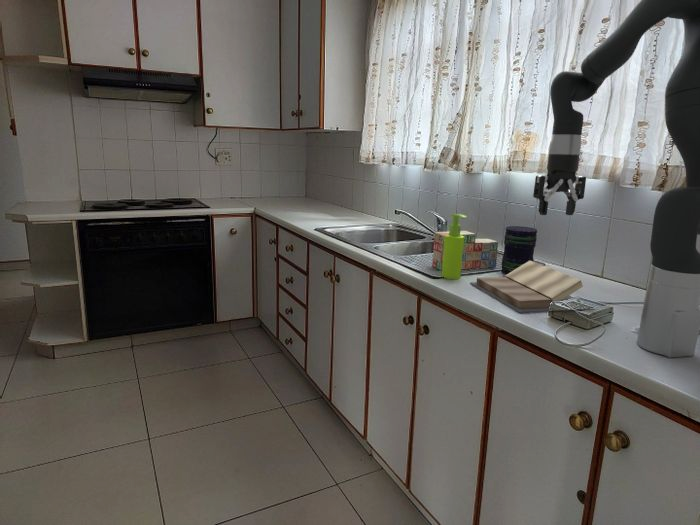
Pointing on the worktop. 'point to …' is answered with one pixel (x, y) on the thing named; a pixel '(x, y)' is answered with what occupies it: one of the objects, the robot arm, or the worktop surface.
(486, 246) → the stack of blocks
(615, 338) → the worktop surface
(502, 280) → the walnut plank
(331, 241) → the worktop surface
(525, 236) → the storage jar
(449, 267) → the soap dispenser
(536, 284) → the oak plank
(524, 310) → the underlay mat
